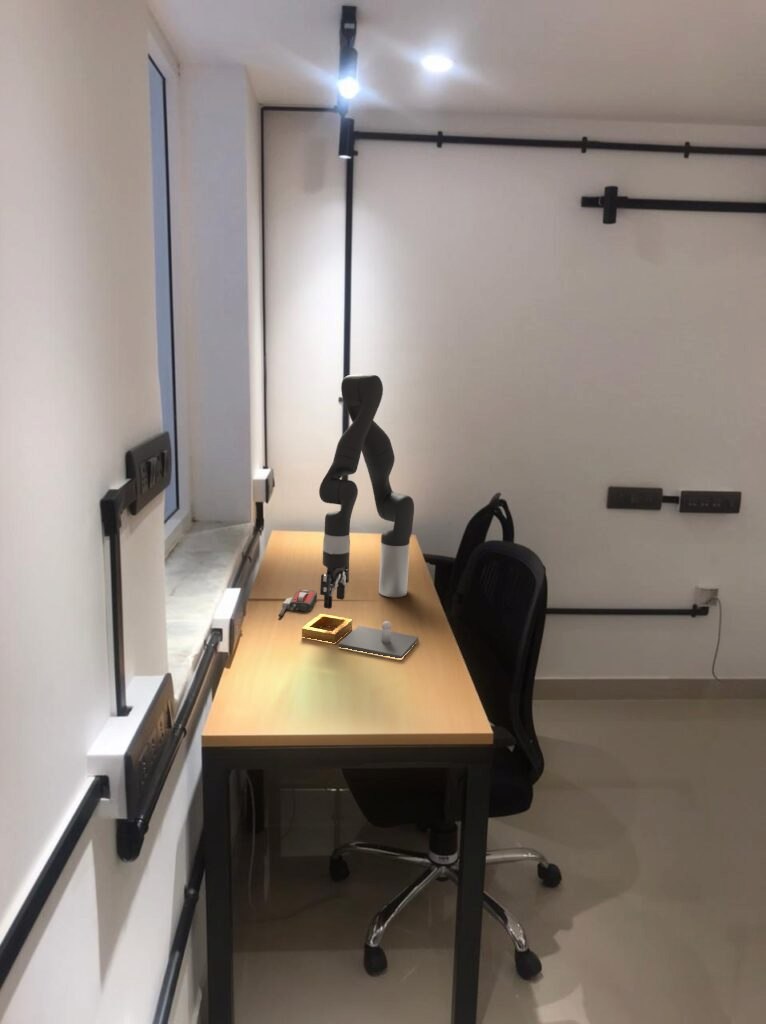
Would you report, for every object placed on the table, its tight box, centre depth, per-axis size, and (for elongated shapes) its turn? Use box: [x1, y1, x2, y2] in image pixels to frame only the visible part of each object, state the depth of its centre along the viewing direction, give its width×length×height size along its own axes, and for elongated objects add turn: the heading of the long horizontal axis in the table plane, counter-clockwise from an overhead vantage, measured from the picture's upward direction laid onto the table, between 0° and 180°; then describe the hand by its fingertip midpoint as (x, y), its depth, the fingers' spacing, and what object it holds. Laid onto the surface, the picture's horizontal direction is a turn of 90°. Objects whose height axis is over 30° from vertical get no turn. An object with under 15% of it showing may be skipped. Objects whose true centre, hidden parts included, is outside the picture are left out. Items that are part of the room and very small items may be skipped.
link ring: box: [301, 613, 353, 643], centre depth 216 cm, size 12×10×3 cm
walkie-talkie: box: [278, 589, 318, 618], centre depth 234 cm, size 9×4×20 cm
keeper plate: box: [338, 620, 419, 658], centre depth 209 cm, size 14×18×7 cm
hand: (334, 603), depth 219 cm, fingers open, 8 cm apart
